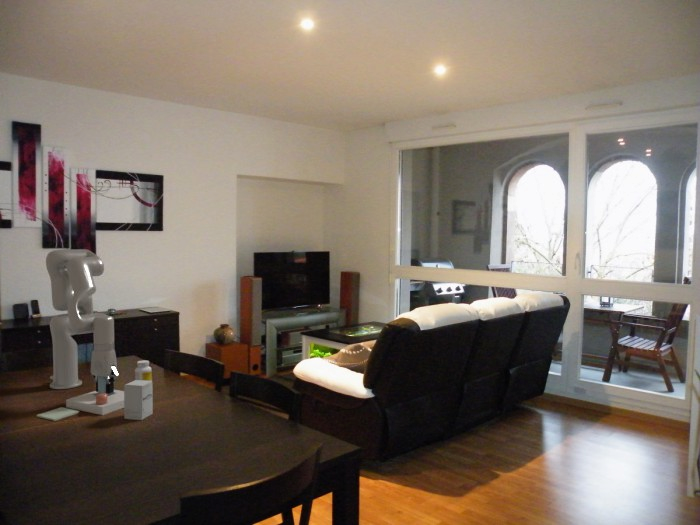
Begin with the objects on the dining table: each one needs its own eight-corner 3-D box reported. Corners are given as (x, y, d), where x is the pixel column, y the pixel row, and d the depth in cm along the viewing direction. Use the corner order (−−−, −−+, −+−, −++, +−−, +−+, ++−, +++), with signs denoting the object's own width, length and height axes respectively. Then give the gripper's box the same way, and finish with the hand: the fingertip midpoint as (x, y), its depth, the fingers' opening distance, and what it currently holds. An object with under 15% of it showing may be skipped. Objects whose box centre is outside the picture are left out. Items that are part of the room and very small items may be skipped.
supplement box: (142, 420, 196) (141, 385, 195) (123, 419, 197) (123, 384, 197) (153, 413, 203) (153, 380, 202) (135, 412, 205) (135, 379, 204)
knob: (93, 410, 205) (93, 395, 205) (102, 407, 208) (102, 392, 208) (101, 411, 203) (100, 396, 203) (110, 408, 207) (109, 394, 206)
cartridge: (94, 402, 217) (93, 373, 216) (106, 398, 222) (105, 369, 221) (104, 404, 214) (103, 374, 213) (115, 400, 219) (115, 371, 218)
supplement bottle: (154, 389, 235) (154, 359, 234) (147, 393, 228) (147, 363, 228) (139, 388, 235) (139, 359, 235) (132, 393, 229) (131, 363, 228)
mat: (36, 416, 199) (36, 415, 199) (61, 408, 208) (61, 407, 208) (54, 420, 195) (54, 419, 195) (79, 412, 204) (79, 411, 204)
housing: (66, 407, 210) (66, 399, 210) (105, 395, 226) (105, 387, 226) (102, 415, 201) (102, 407, 201) (140, 401, 218) (140, 394, 217)
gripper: (81, 346, 217) (82, 391, 218) (111, 350, 210) (112, 397, 211) (97, 343, 224) (98, 387, 225) (127, 347, 216) (127, 392, 217)
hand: (104, 391), depth 218 cm, fingers closed on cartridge, 5 cm apart
